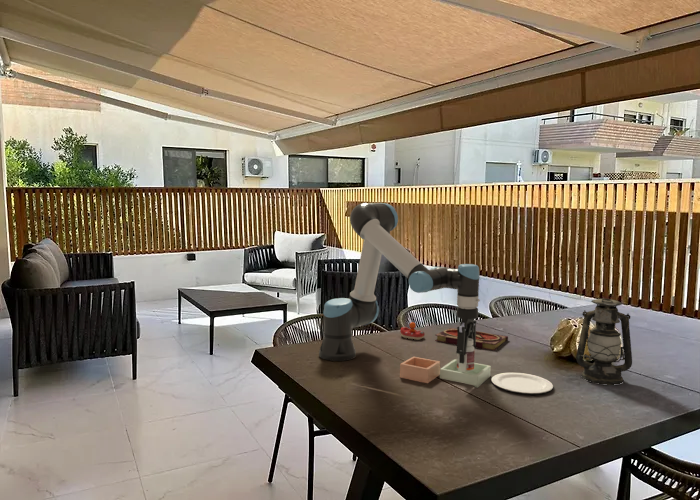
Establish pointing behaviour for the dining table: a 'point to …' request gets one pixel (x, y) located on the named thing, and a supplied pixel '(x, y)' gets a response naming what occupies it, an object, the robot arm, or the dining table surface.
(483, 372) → the green tray
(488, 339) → the book
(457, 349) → the robot arm
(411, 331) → the toy boat
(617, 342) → the lantern
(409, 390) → the dining table surface
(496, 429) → the dining table surface
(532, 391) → the plate
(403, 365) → the orange open box
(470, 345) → the pill bottle
